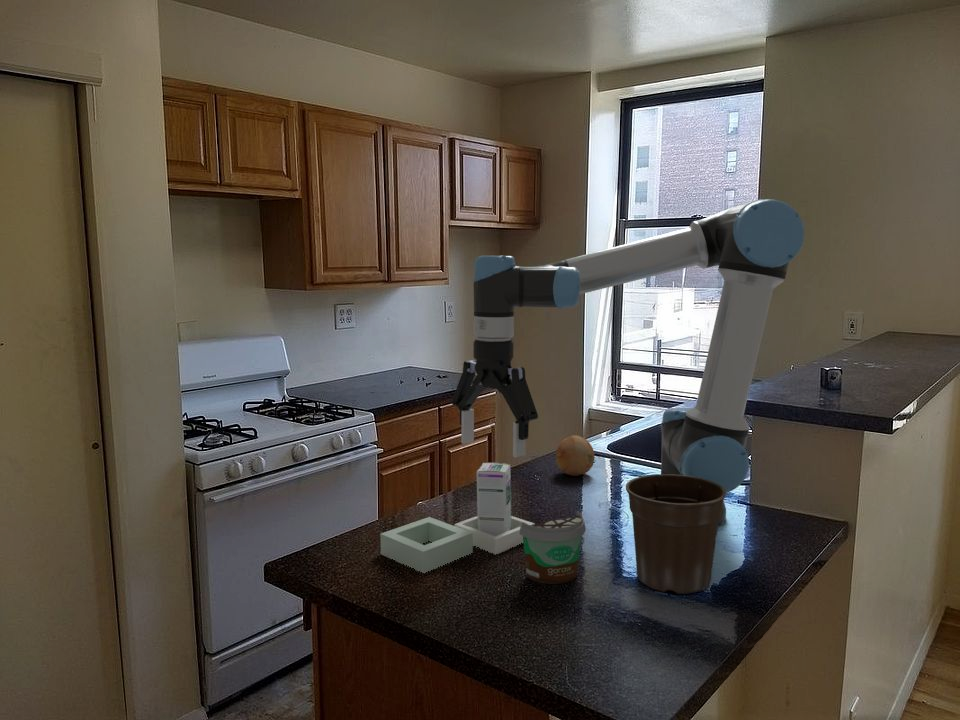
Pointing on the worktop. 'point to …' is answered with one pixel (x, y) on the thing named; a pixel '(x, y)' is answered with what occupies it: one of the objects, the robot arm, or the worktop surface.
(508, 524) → the syrup box
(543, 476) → the worktop surface
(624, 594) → the worktop surface
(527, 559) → the food container
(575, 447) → the onion
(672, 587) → the plant pot
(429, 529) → the socket
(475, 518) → the frame
